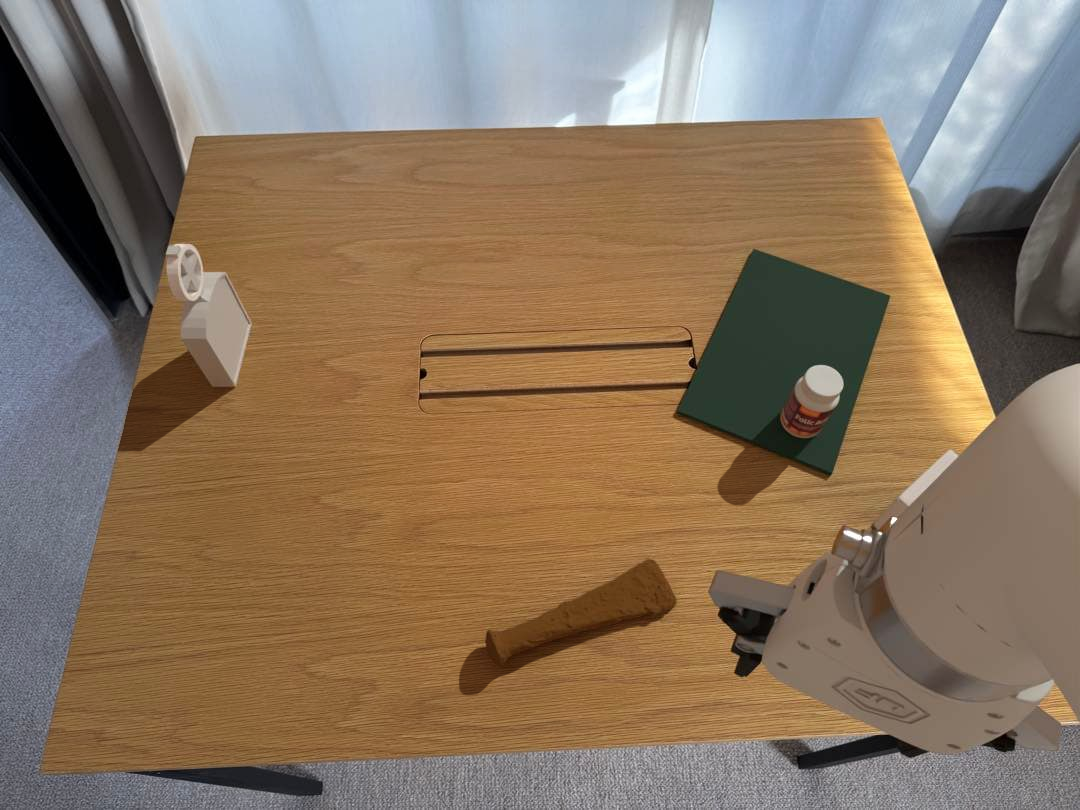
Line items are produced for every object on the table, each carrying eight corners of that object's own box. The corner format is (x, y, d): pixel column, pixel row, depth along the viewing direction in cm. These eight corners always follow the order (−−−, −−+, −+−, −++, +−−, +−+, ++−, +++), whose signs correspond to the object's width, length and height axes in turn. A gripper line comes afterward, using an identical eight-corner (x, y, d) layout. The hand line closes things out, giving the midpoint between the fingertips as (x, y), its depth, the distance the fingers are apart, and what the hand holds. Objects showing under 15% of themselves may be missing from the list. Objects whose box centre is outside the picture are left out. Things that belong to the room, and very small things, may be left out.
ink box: (901, 496, 83) (951, 443, 73) (940, 529, 81) (997, 480, 71) (850, 544, 80) (895, 496, 70) (889, 580, 78) (941, 535, 68)
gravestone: (252, 323, 95) (197, 216, 80) (235, 386, 90) (174, 285, 75) (229, 323, 95) (171, 216, 80) (212, 386, 90) (146, 285, 75)
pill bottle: (784, 440, 86) (806, 400, 79) (775, 404, 88) (796, 362, 81) (826, 439, 86) (852, 398, 79) (816, 403, 88) (841, 360, 81)
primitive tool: (653, 558, 79) (657, 546, 76) (680, 606, 76) (686, 595, 73) (480, 638, 75) (478, 628, 72) (503, 692, 72) (501, 684, 69)
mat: (888, 298, 97) (890, 295, 97) (830, 475, 84) (832, 473, 84) (752, 251, 102) (753, 248, 101) (676, 413, 88) (677, 410, 88)
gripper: (724, 586, 31) (664, 681, 45) (1195, 801, 27) (964, 829, 41) (779, 440, 34) (707, 572, 49) (1203, 610, 30) (987, 698, 45)
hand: (825, 690), depth 45 cm, fingers open, 9 cm apart
